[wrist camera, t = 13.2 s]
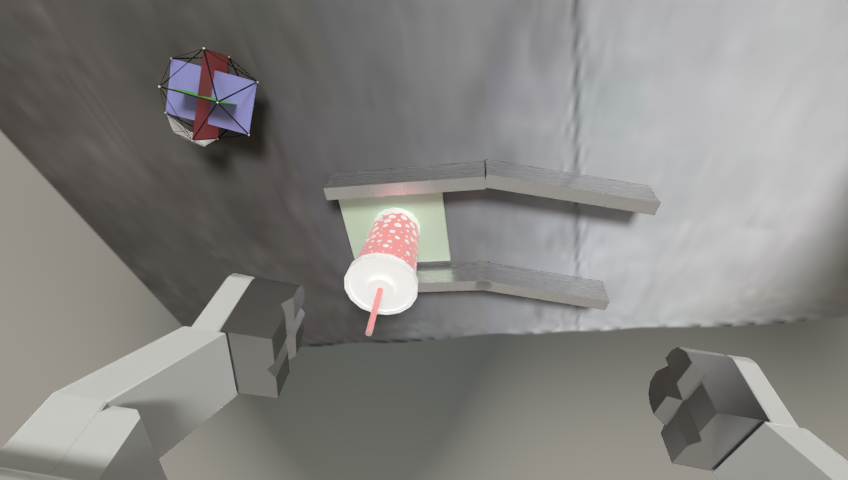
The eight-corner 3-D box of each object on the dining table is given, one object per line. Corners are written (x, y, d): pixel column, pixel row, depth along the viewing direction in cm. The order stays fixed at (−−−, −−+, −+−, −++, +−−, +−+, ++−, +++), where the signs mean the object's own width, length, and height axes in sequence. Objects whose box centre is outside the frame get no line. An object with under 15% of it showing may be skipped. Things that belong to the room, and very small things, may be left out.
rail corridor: (648, 185, 38) (660, 202, 36) (586, 313, 48) (592, 333, 45) (333, 134, 39) (323, 147, 36) (331, 271, 48) (323, 289, 45)
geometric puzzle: (167, 10, 32) (120, 101, 30) (260, 36, 32) (221, 128, 30) (202, 73, 39) (166, 151, 36) (279, 93, 39) (248, 172, 37)
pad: (441, 182, 40) (441, 184, 40) (450, 258, 45) (450, 260, 45) (337, 189, 42) (336, 191, 41) (357, 262, 47) (356, 264, 46)
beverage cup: (403, 262, 46) (378, 372, 34) (354, 229, 44) (311, 334, 32) (440, 225, 42) (427, 333, 31) (389, 188, 41) (356, 288, 29)
